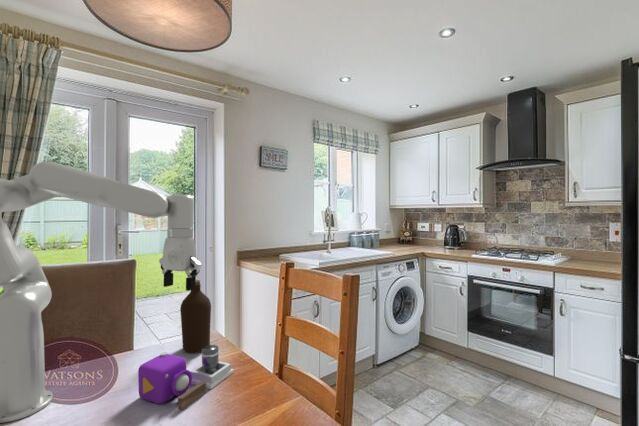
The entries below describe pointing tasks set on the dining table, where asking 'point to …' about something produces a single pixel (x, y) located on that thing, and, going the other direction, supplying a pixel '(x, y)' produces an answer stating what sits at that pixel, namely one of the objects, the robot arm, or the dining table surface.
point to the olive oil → (195, 320)
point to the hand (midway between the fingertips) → (179, 287)
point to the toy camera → (163, 378)
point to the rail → (191, 395)
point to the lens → (210, 359)
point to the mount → (211, 379)
